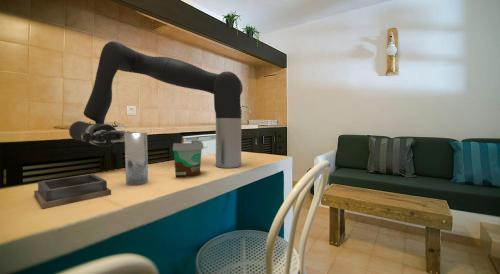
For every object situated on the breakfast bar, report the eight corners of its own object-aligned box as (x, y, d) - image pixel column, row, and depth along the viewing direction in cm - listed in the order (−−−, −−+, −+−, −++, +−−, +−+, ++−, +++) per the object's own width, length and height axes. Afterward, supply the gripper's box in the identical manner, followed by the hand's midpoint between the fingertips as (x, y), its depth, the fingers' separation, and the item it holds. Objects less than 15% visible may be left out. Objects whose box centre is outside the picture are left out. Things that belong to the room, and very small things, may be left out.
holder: (95, 184, 58) (94, 173, 57) (111, 194, 50) (110, 180, 50) (34, 195, 49) (33, 181, 49) (42, 208, 42) (41, 192, 42)
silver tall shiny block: (133, 179, 63) (132, 132, 62) (151, 180, 62) (150, 132, 61) (121, 185, 58) (119, 133, 57) (140, 185, 57) (139, 133, 56)
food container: (193, 180, 63) (193, 144, 62) (172, 178, 64) (172, 143, 64) (209, 170, 75) (209, 140, 74) (192, 169, 76) (192, 140, 76)
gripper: (74, 123, 72) (89, 124, 61) (123, 123, 82) (143, 125, 72) (75, 147, 72) (90, 152, 61) (123, 144, 83) (143, 149, 72)
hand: (119, 137), depth 67 cm, fingers open, 8 cm apart
